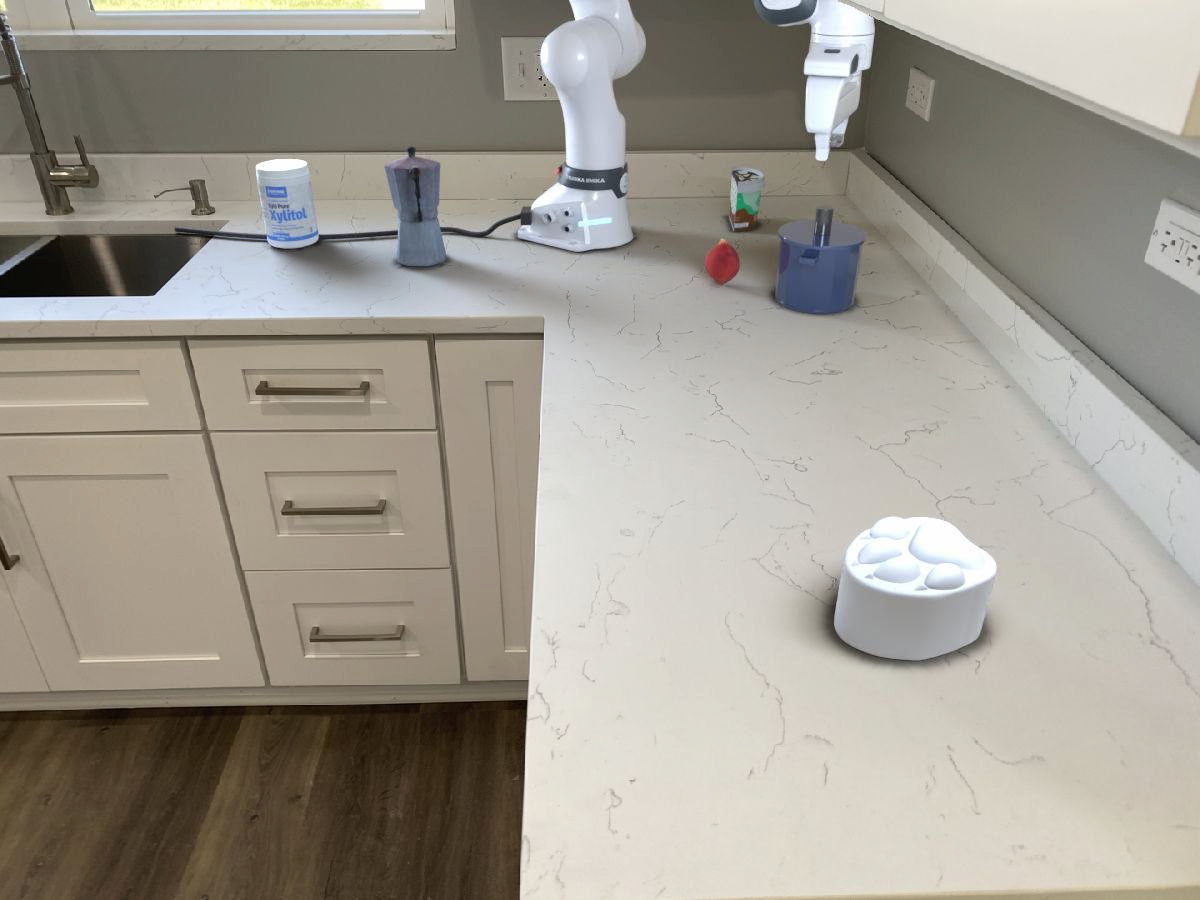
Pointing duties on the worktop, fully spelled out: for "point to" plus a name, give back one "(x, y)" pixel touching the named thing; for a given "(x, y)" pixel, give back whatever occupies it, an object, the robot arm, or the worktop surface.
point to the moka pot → (416, 209)
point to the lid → (822, 232)
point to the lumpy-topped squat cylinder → (913, 589)
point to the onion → (722, 262)
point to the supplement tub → (287, 203)
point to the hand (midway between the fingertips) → (829, 152)
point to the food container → (745, 197)
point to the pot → (817, 278)
